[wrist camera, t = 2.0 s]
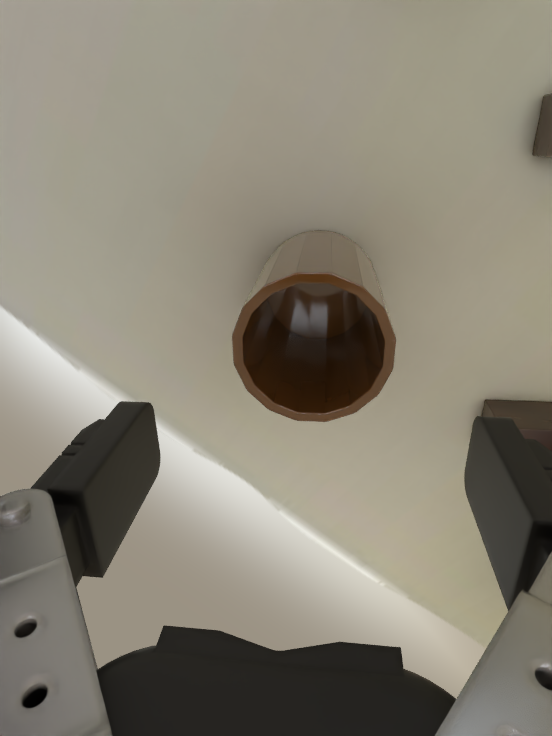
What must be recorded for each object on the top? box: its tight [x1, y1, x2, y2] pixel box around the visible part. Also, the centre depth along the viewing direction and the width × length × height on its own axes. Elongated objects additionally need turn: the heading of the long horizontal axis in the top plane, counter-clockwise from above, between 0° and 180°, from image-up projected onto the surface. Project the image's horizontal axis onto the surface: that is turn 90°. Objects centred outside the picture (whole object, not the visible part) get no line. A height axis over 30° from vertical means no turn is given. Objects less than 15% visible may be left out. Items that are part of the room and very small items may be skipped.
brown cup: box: [232, 230, 396, 422], centre depth 22 cm, size 6×6×8 cm
